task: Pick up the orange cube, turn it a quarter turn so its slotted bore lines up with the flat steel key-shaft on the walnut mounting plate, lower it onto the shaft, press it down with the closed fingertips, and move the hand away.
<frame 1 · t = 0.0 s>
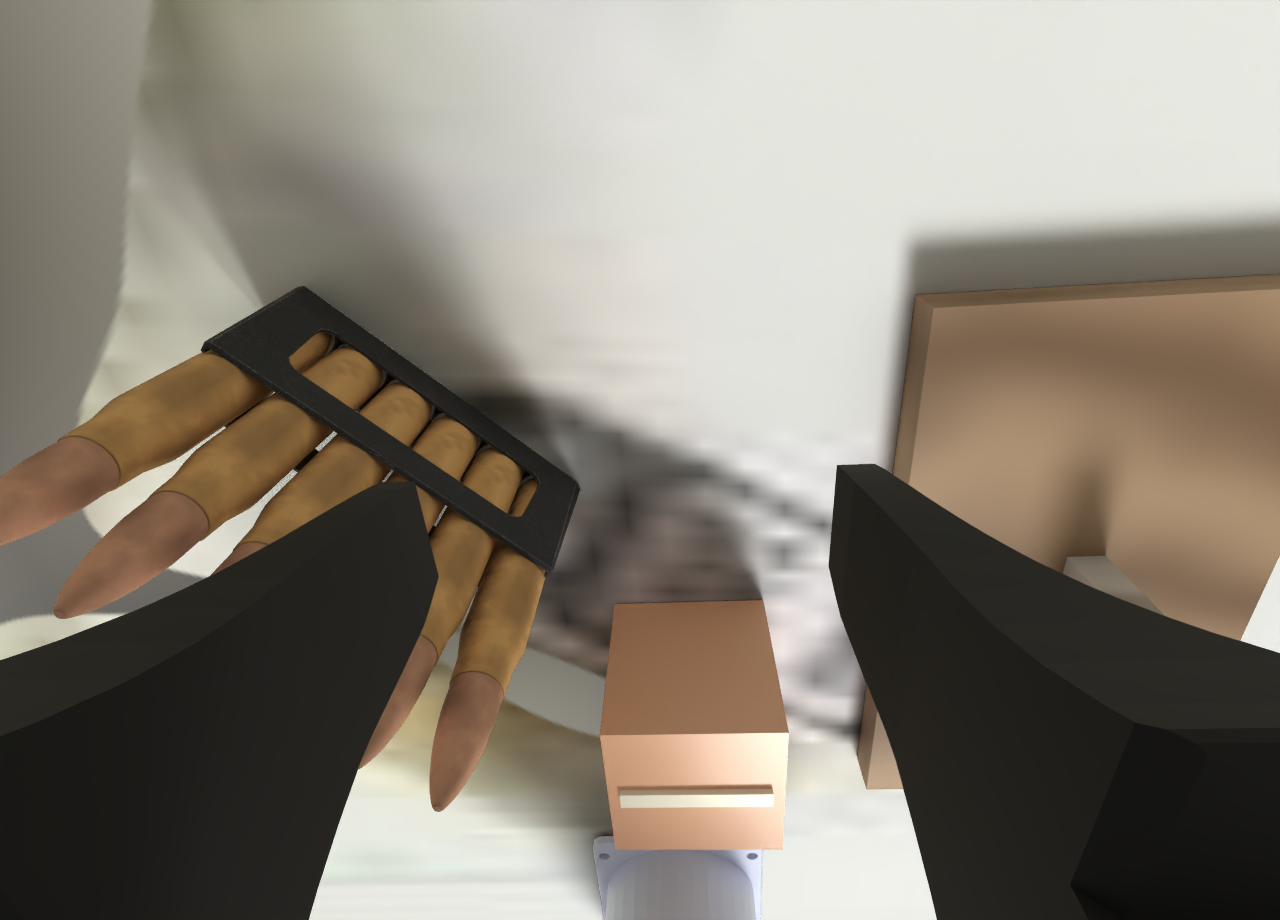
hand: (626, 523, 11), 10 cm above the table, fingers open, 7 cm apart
mount: (1052, 565, 24), on the table
orange cube: (690, 657, 26), on the table
ammunition clip: (438, 409, 22), on the table
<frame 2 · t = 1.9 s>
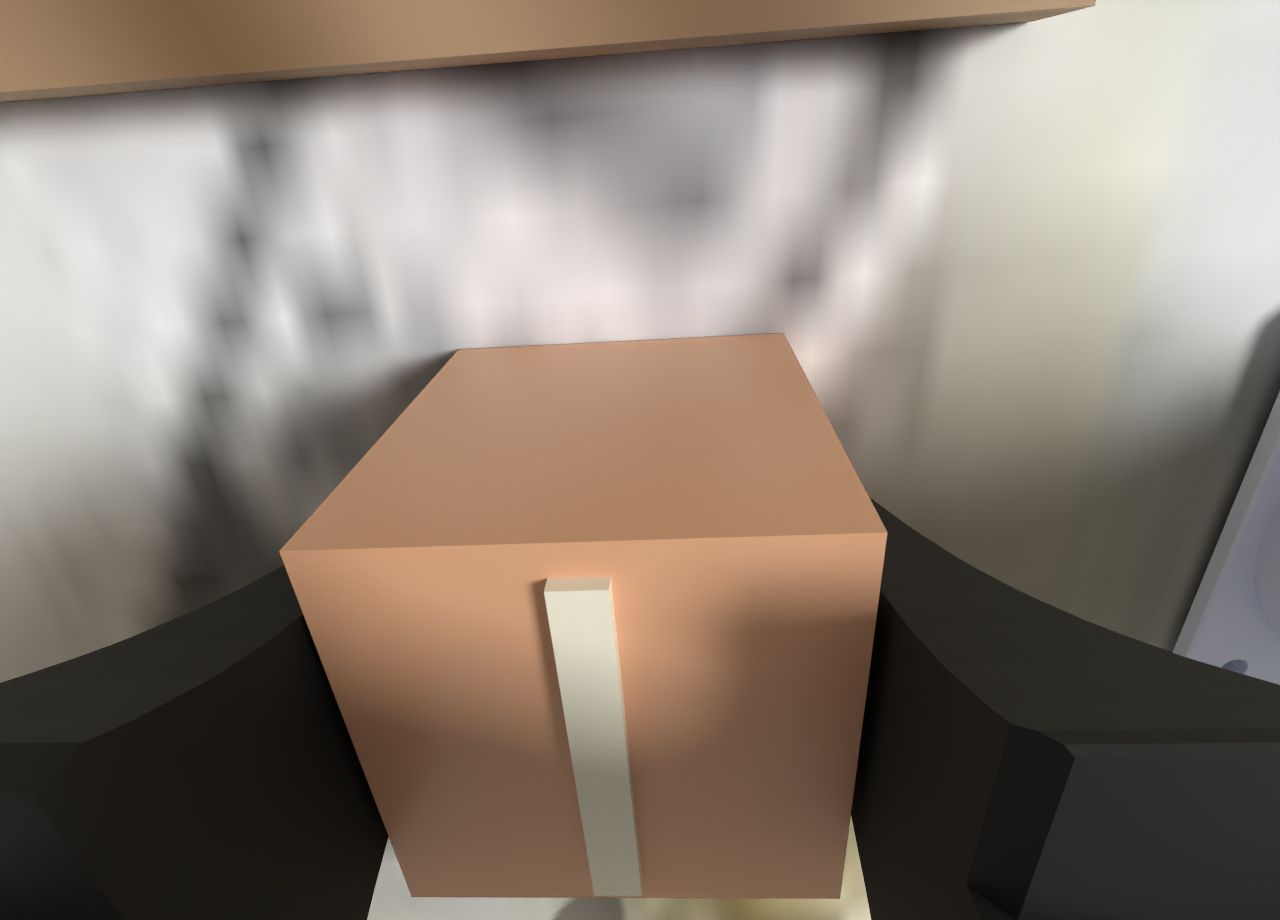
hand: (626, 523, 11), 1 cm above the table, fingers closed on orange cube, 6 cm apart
orange cube: (630, 483, 13), on the table, touching gripper
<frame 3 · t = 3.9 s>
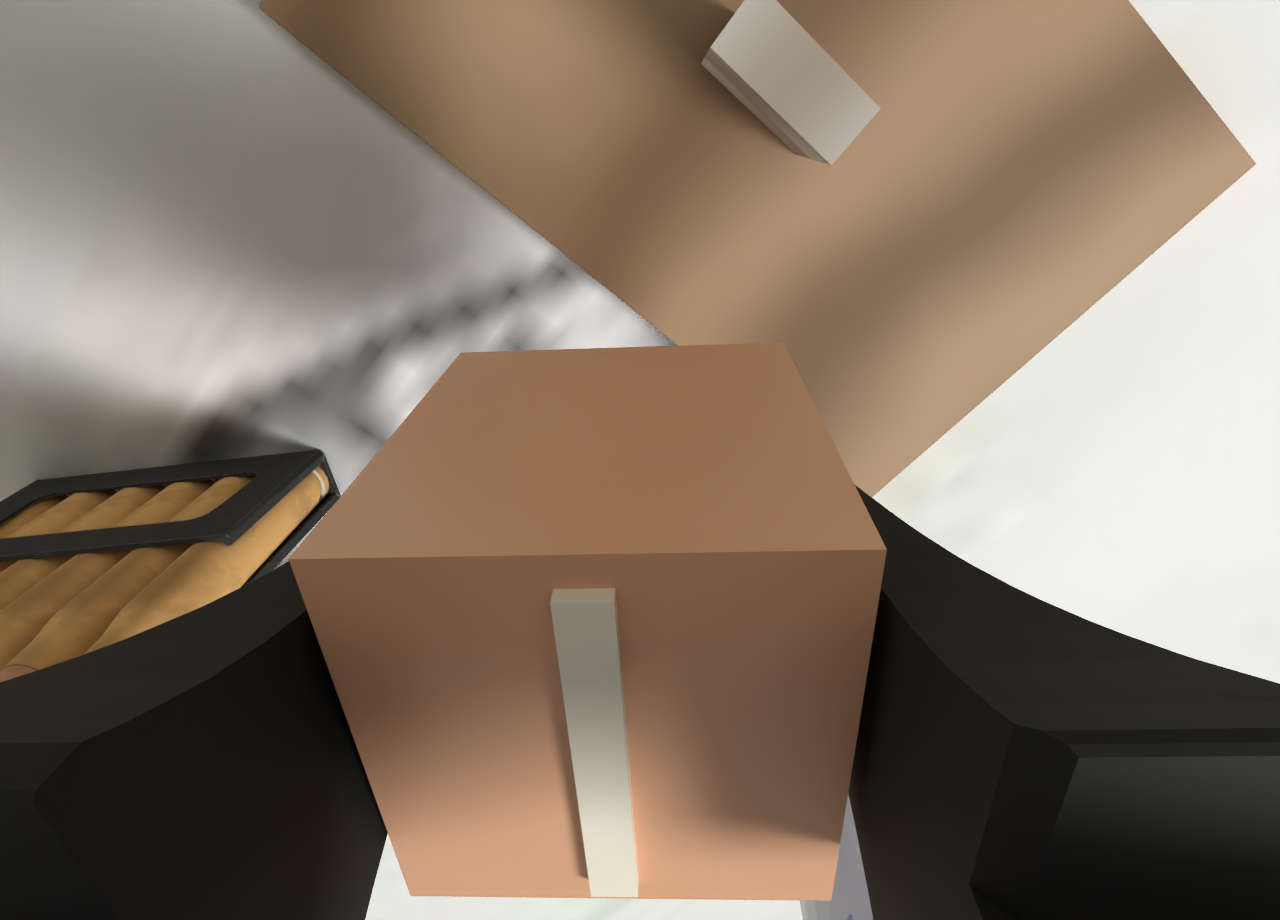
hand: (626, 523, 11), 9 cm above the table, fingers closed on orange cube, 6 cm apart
mount: (759, 89, 17), on the table
orange cube: (628, 487, 13), point 8 cm above the table, touching gripper
ammunition clip: (191, 485, 23), on the table
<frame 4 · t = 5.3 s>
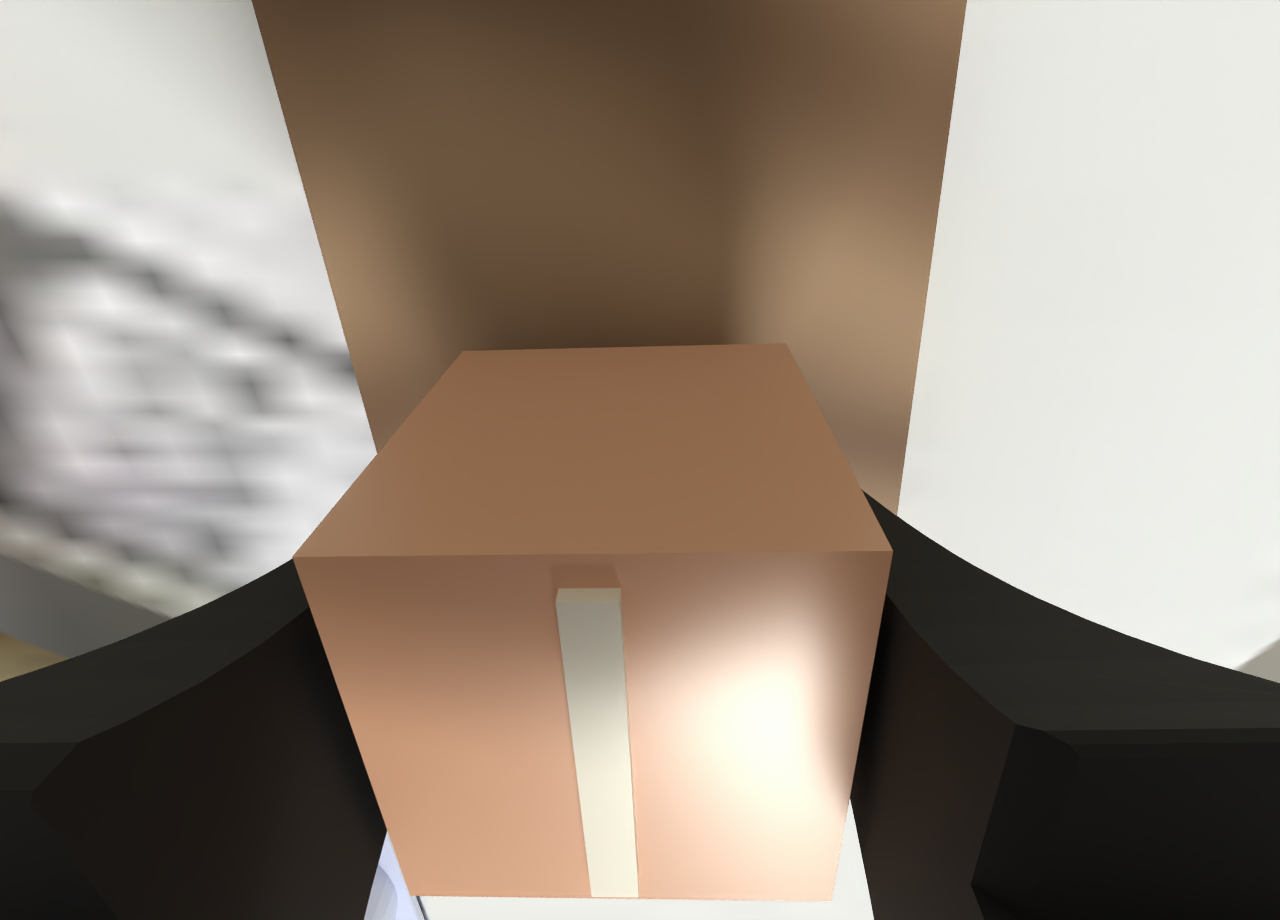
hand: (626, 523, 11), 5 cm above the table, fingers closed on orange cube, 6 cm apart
mount: (637, 404, 16), on the table
orange cube: (629, 486, 13), point 4 cm above the table, touching gripper
when the fingers open (4 cm above the table, at t = 6.3 s): orange cube stays where it is, resting on mount.
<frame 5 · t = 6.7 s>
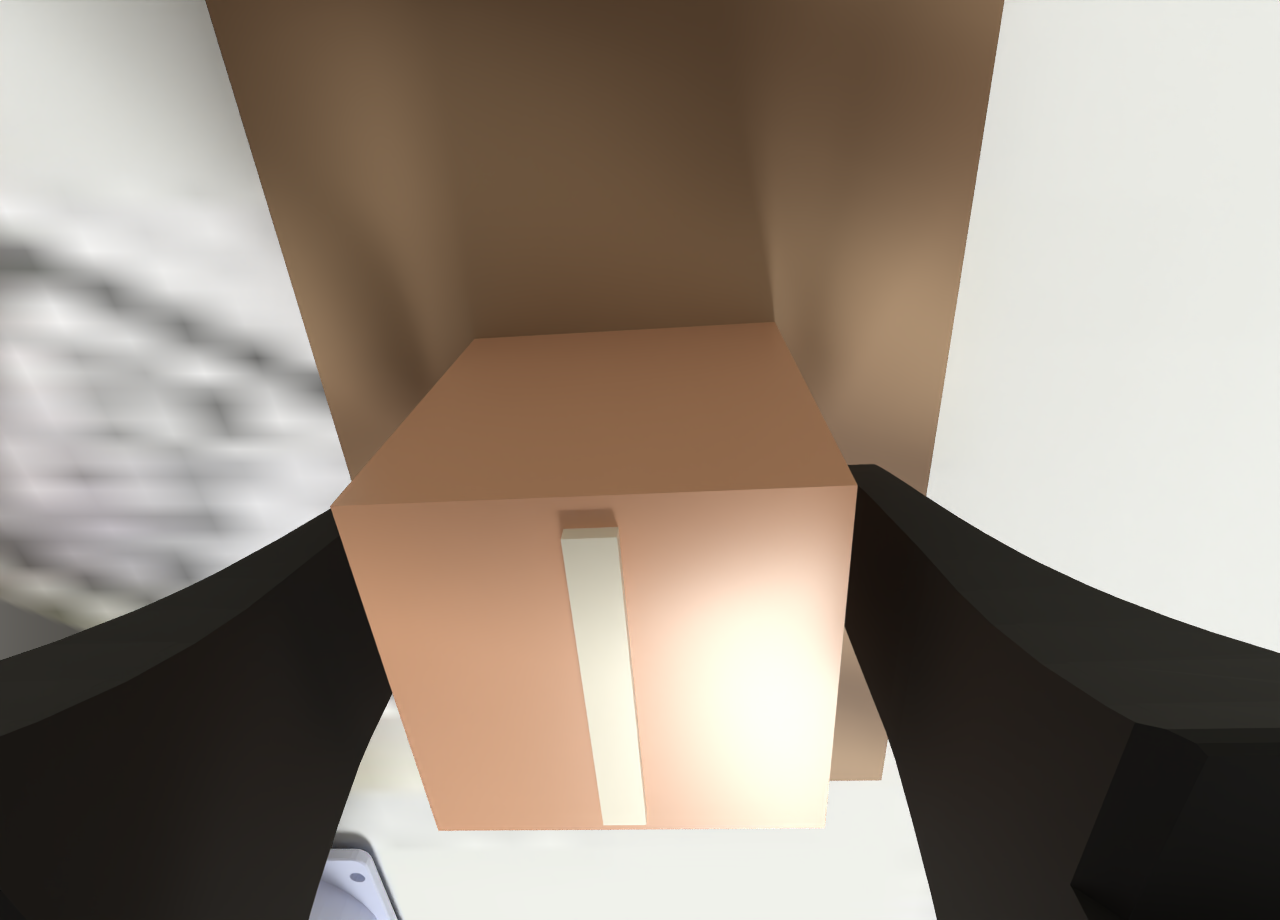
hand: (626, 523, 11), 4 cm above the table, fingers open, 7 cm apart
mount: (636, 428, 15), on the table
orange cube: (633, 463, 14), point 1 cm above the table, touching mount
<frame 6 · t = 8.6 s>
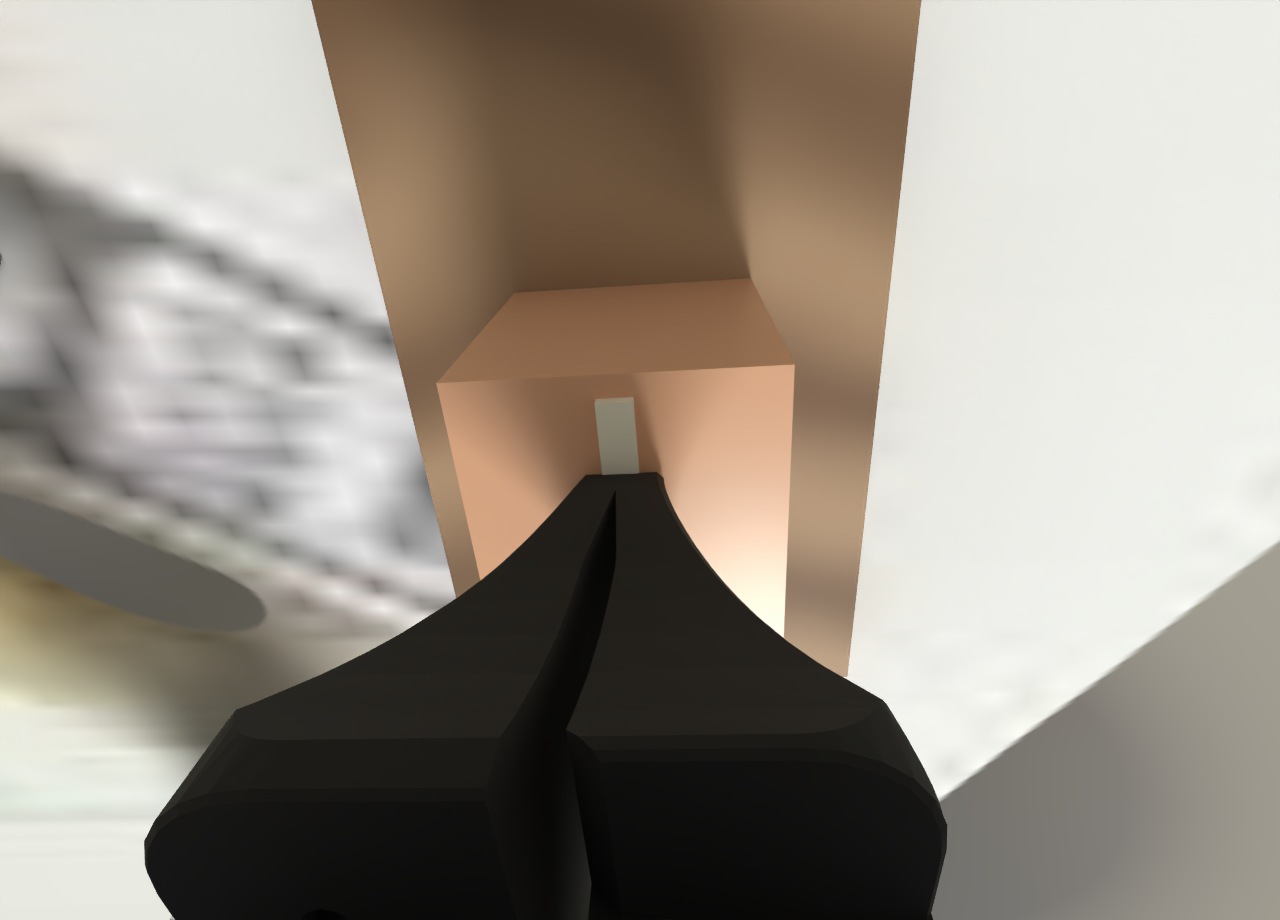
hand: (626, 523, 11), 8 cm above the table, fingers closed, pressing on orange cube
mount: (641, 371, 18), on the table
orange cube: (639, 396, 17), point 1 cm above the table, touching gripper, mount
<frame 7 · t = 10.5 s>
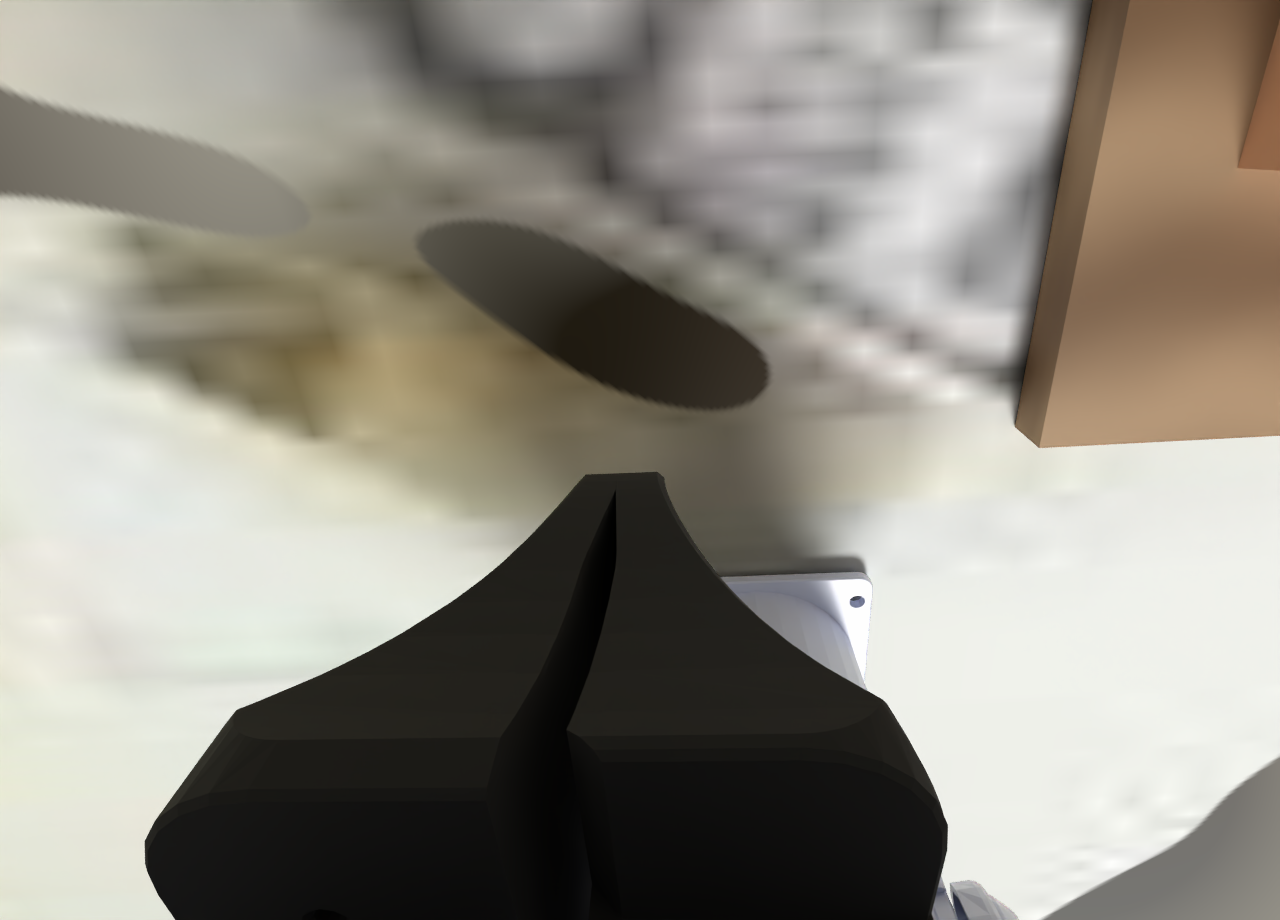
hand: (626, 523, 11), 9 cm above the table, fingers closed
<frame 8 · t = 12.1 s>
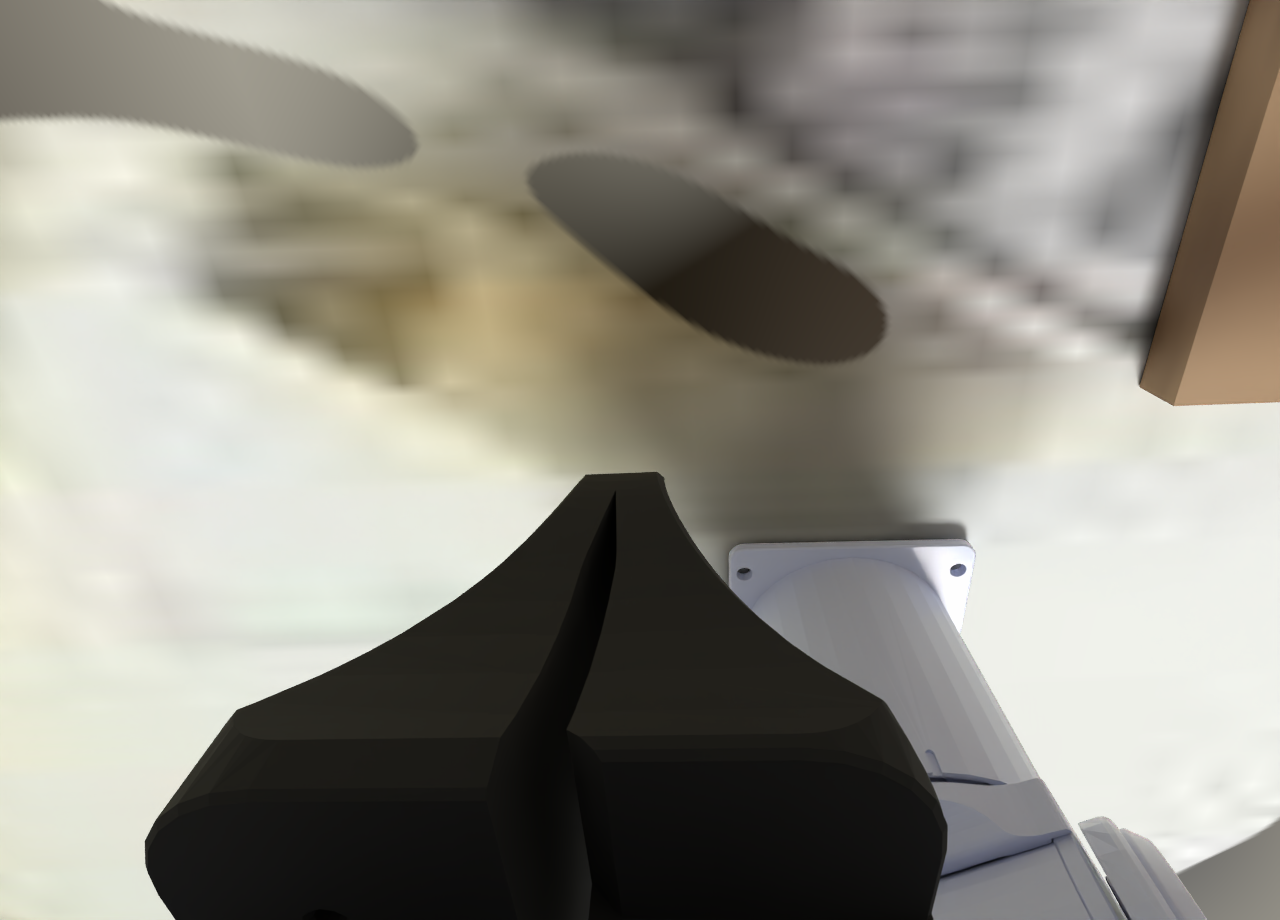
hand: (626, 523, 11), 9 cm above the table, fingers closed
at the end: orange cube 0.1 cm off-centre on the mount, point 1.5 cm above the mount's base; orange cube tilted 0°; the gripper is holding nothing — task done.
